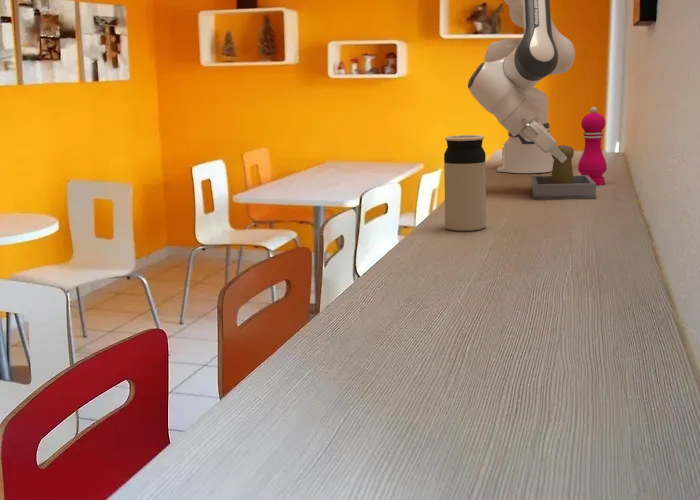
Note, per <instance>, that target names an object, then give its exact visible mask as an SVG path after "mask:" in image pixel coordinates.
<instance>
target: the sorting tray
mask: <svg viewBox="0 0 700 500" xmlns="http://www.w3.org/2000/svg"><path fill="white" fill-rule="evenodd" d="M551 176H552V175H533V176H532V175H531V176H530V184H531V185H530V190H531V191H530V192H531V194H532V197H533V200H536V201H537V200H596V197H597V196H596V195H597V186H596V183H595V182H594V181H593V180H592V179H591V178H590V177H589V176H588V175H581V174H580V175H576V174H575V175H574V174H573V179H574V184H550V183H551Z"/></svg>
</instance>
